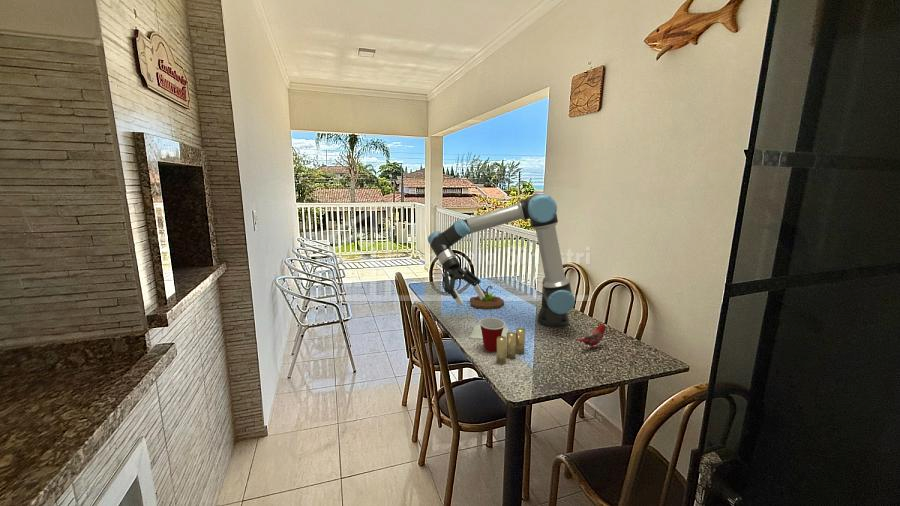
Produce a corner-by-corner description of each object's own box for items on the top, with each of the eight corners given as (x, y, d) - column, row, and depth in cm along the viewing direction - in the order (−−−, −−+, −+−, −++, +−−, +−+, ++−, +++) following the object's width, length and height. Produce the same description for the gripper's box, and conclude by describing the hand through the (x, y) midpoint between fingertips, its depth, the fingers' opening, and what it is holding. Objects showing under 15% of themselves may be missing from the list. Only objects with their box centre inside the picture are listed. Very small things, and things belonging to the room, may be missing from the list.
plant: (506, 310, 203) (506, 290, 201) (471, 310, 203) (471, 290, 201) (501, 299, 223) (502, 281, 221) (469, 299, 223) (469, 281, 221)
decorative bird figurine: (607, 346, 156) (609, 323, 154) (577, 355, 148) (578, 331, 146) (602, 343, 159) (603, 321, 157) (572, 352, 150) (573, 329, 149)
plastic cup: (488, 357, 147) (488, 328, 145) (474, 347, 156) (474, 320, 154) (510, 351, 152) (510, 324, 149) (495, 342, 161) (495, 315, 159)
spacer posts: (526, 352, 150) (527, 329, 149) (501, 365, 140) (502, 340, 138) (519, 349, 153) (519, 327, 151) (494, 362, 143) (494, 337, 141)
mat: (508, 328, 177) (508, 327, 177) (505, 341, 161) (505, 340, 161) (475, 325, 180) (475, 324, 180) (469, 338, 165) (469, 337, 165)
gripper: (464, 262, 177) (486, 299, 169) (423, 270, 161) (446, 311, 152) (472, 253, 172) (496, 291, 164) (431, 260, 156) (455, 302, 148)
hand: (472, 301), depth 158 cm, fingers open, 13 cm apart
